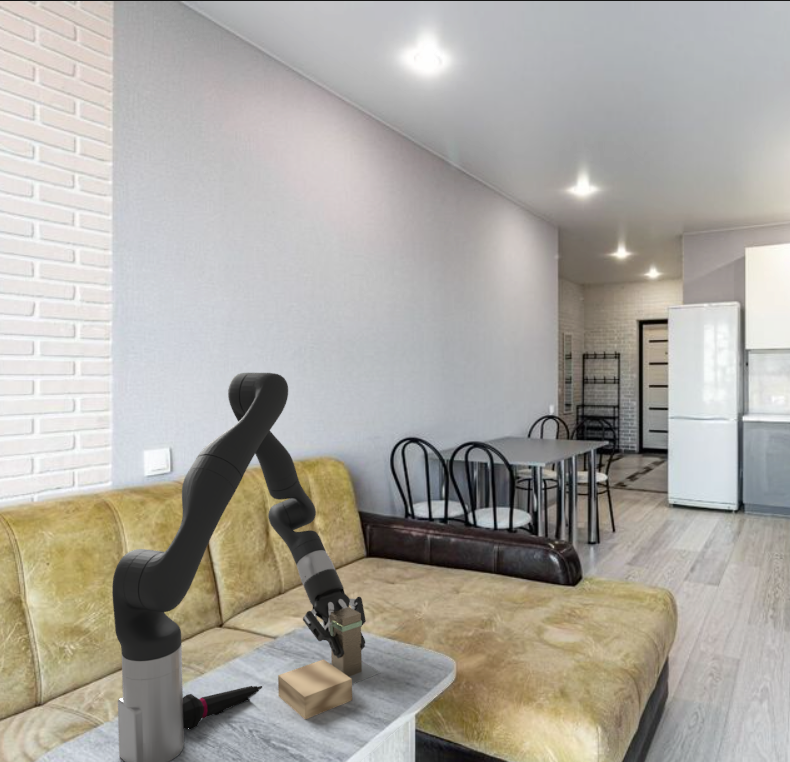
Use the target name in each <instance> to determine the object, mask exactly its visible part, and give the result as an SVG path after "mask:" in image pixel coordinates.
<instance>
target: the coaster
mask: <svg viewBox="0 0 790 762" xmlns="http://www.w3.org/2000/svg"><path fill="white" fill-rule="evenodd" d="M329 663H330V664H331V665H332V662H329ZM380 674H382V672H381V671H380V670H378V669H376V668H374V667H373V666H372V665H370V664H368V663H366V662H365V661H364V660H362V672H360V673H357V674H355V675H352V676H349V677H350V678H351V679H352V685H354V684H357V683H359V682H362V681H364V680H367V679H369V678H371V677H374V676H377V675H380Z"/></svg>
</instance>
